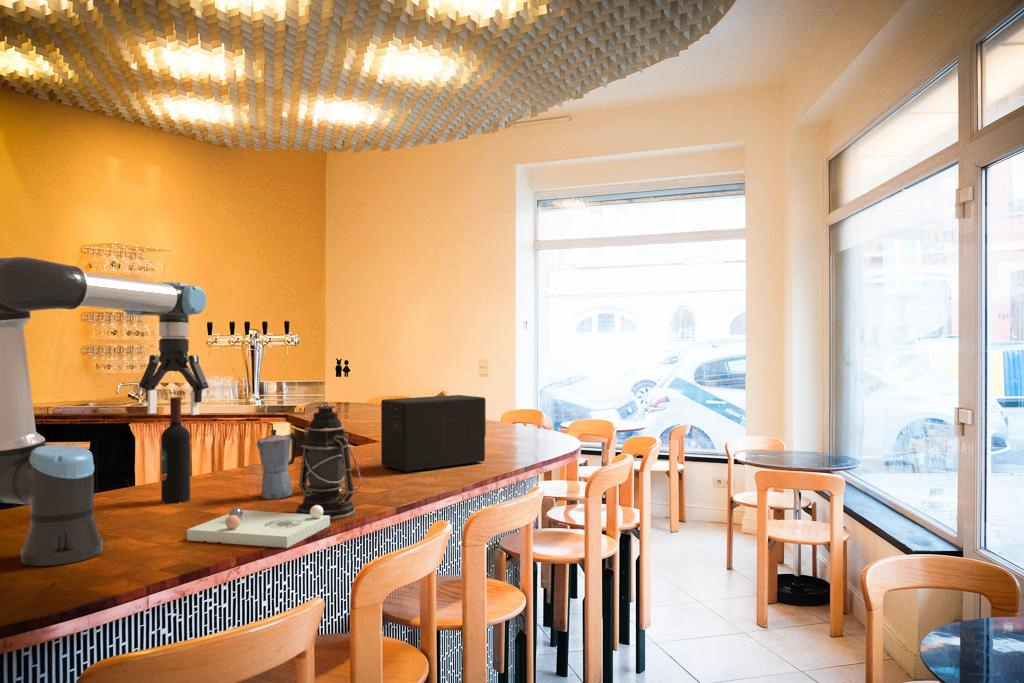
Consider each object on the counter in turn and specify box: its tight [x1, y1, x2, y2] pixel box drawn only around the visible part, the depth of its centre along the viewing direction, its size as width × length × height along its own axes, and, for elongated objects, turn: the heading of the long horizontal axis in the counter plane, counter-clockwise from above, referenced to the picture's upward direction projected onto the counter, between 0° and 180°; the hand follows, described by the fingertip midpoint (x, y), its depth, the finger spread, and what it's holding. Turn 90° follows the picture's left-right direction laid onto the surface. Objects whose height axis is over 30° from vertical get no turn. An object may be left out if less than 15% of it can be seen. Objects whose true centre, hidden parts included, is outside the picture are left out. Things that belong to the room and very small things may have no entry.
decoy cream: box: [310, 505, 323, 518], centre depth 181 cm, size 3×3×3 cm
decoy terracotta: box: [225, 515, 240, 529], centre depth 171 cm, size 3×3×3 cm
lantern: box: [295, 401, 363, 521], centre depth 196 cm, size 20×16×30 cm
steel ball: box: [228, 506, 243, 519], centre depth 178 cm, size 3×3×3 cm
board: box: [186, 509, 331, 549], centre depth 177 cm, size 20×26×2 cm
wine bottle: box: [160, 396, 191, 504], centre depth 211 cm, size 8×8×30 cm
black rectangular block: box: [380, 394, 487, 474], centre depth 272 cm, size 38×20×25 cm, turn 129°
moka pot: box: [255, 429, 299, 500], centre depth 218 cm, size 10×15×20 cm, turn 152°
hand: (173, 414), depth 204 cm, fingers open, 13 cm apart
